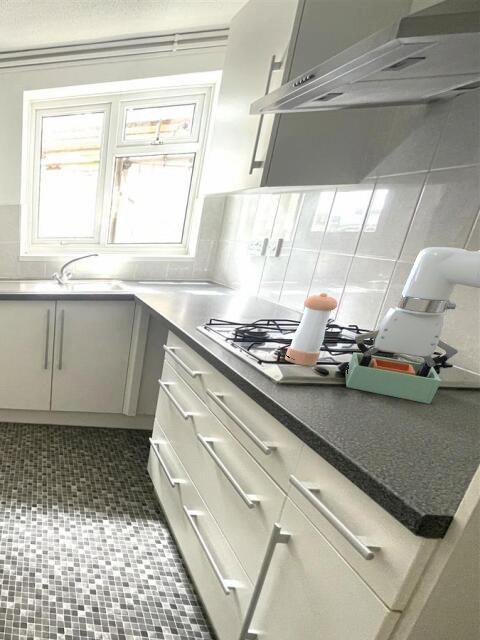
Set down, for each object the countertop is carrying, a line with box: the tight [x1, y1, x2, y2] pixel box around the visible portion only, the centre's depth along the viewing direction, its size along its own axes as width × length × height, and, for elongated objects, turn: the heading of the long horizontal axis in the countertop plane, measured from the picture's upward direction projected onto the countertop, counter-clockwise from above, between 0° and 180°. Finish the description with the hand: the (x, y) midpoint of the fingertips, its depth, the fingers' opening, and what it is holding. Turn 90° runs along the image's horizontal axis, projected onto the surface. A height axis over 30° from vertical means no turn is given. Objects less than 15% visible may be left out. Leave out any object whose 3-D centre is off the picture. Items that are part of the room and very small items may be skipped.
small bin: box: [369, 358, 416, 375], centre depth 100 cm, size 7×7×5 cm
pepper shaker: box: [284, 292, 338, 367], centre depth 114 cm, size 7×7×19 cm
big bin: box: [345, 352, 442, 405], centre depth 100 cm, size 14×12×6 cm
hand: (389, 375), depth 100 cm, fingers open, 9 cm apart
